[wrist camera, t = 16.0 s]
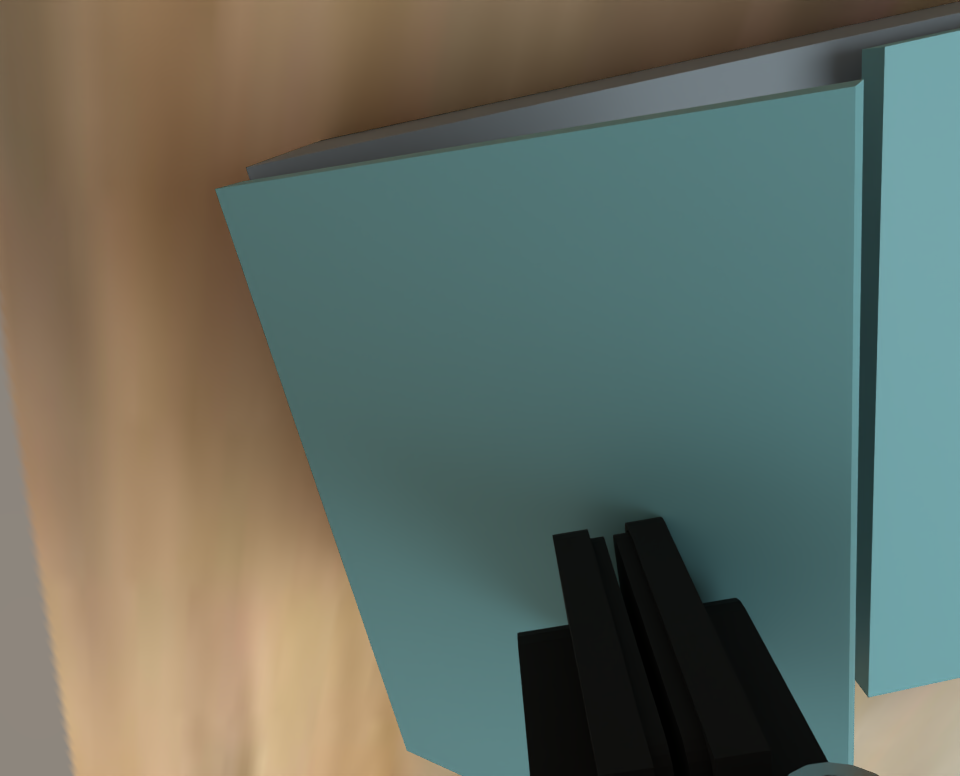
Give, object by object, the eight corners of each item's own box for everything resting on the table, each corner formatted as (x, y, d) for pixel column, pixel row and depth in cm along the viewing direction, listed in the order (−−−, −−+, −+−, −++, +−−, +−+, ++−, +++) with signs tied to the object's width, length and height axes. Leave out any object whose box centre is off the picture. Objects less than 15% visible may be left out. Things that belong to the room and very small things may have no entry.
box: (321, 140, 19) (245, 167, 12) (1088, -27, 18) (1446, -93, 11) (436, 558, 24) (425, 727, 18) (1028, 453, 23) (1246, 594, 17)
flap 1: (242, 181, 12) (214, 189, 12) (863, 79, 7) (856, 85, 6) (421, 731, 18) (406, 750, 17) (850, 916, 12) (846, 950, 12)
